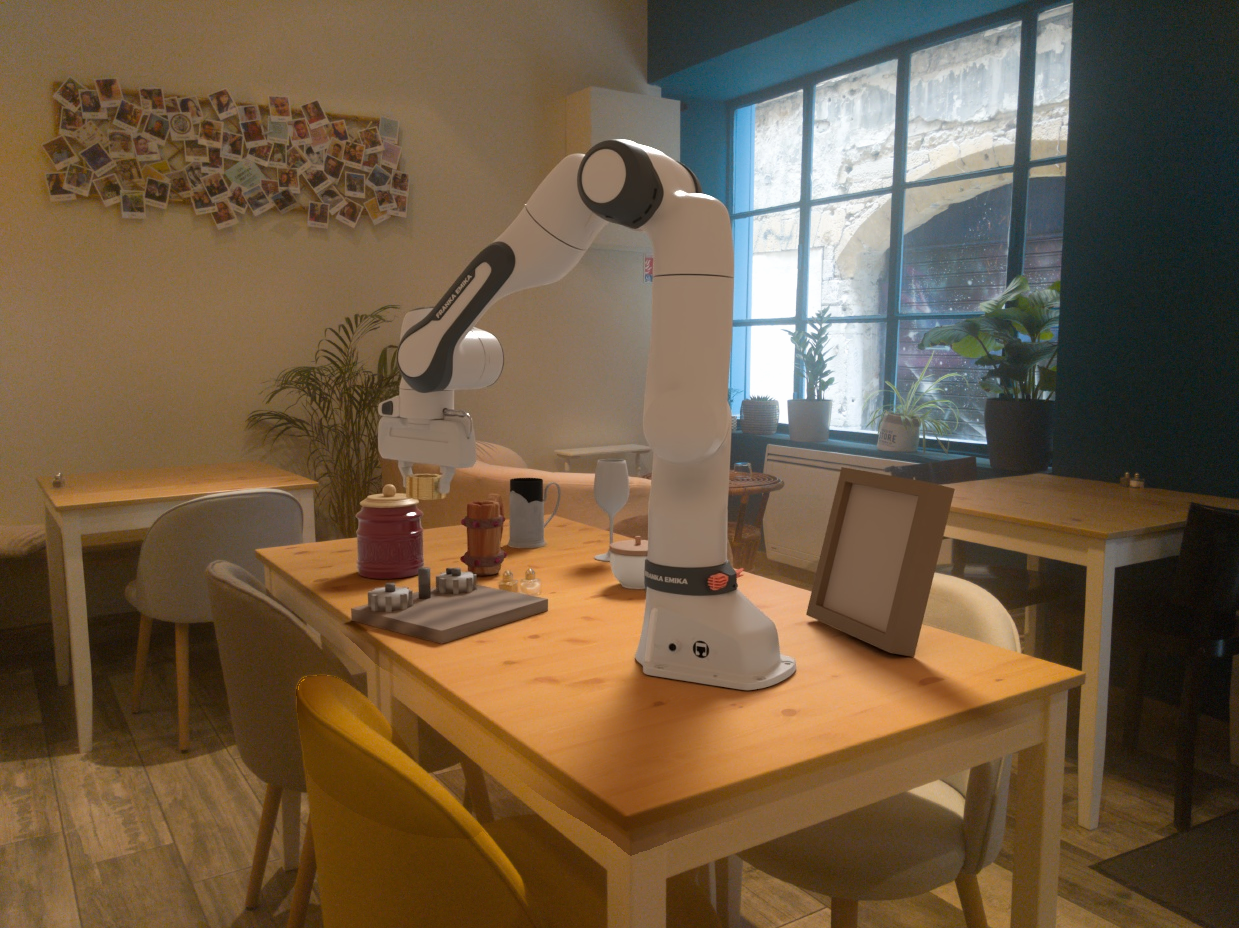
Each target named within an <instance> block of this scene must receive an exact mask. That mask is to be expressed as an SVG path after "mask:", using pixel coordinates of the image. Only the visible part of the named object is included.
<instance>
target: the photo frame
mask: <svg viewBox="0 0 1239 928" xmlns="http://www.w3.org/2000/svg"><path fill="white" fill-rule="evenodd" d="M954 493H955V488H952V487H949V486H945V485H942V484H938V483H933V482H930V481H924V480H918V479H913V478H908V477H907V478H906V477H902V476H901V477H900V476H895V475H888V474H882V473H878V472H871V471H866V470H861V469H855V468H850V467H849V468H848V467H843V466H841V467H840V472H839V476H838V481H837V484H836V490H835V493H834V497H833V501H832V506H831V510H830V514H829V518H828V522H827V525H826V531H825V534H824V539H823V543H822V546H821V550H820V551H821V552H820V556H819V559H818V564H817V566H816V567H817V568H816V573H815V576H814V580H813V584H812V588H811V593H810V596H809V597H810V598H809V602H808V605H807V609H806V613H805V615H806V616H808V617H810V618H812V619H814V620H816V621H819V622H821V623H823V624H826V625H828V626H829V627H831V628H834V629H836V630H839V631H840V632H843V633H845V634H847V635H849V636H851V637H854V638H856V639H858V640H861V641H863V642H865V643H867V644H869V645H872V646H874V647H876V648H878V649H880V650H882V651H884V652H887V653H890V654H893V655H894V654H896V655H901V656H906V657H913V658H914V657H915V656H916V651H917V646H918V641H919V638H920V634H921V630H922V625H923V622H924V617H925V613H926V611H927V610H926V609H927V605H928V602H929V598H930V595H931V594H930V593H931V589H932V584H933V581H934V576H935V573H936V572H935V571H936V567H937V564H938V560H939V557H940V556H939V555H940V552H941V549H942V548H941V547H942V544H943V540H944V537H945V536H944V535H945V531H946V527H947V522H948V518H949V515H950V509H951V506H952V502H953V497H954Z"/></svg>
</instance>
